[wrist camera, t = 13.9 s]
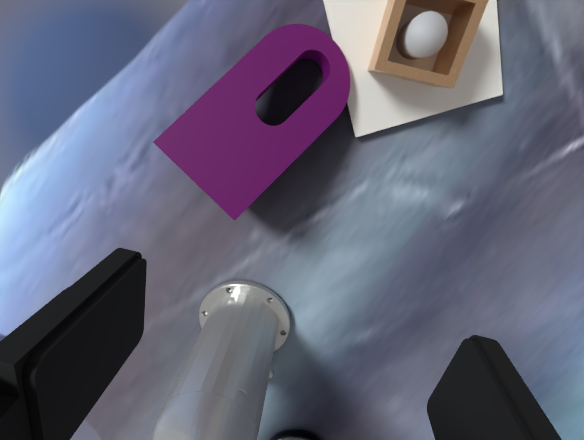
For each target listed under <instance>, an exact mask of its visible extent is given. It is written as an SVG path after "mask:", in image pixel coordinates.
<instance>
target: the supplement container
mask: <svg viewBox="0 0 584 440" xmlns="http://www.w3.org/2000/svg"><path fill="white" fill-rule="evenodd" d="M270 440H320V439H319V438H318V437H316V436H315V435H313V434H311V433H309V432H306V431H302V430H285V431H282V432H279V433H277V434H275V435H274V436H273V437H272V438H271V439H270Z"/></svg>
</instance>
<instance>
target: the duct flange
mask: <svg viewBox="0 0 584 440" xmlns="http://www.w3.org/2000/svg"><path fill="white" fill-rule="evenodd" d="M387 1H388V0H323V2H324V6H325V10H326V14H327V19H328V23H329V27H330V32H331V36H332V39H333V40H334V41H335V42H336V44H337V45H338V46H339V48H340V49H341V51H342V52H343V54H344V56H345V58H346V61H347V63H348V67H349V71H350V92H349V97H348V100H347V104H348V109H349V113H350V117H351V121H352V126H353V130H354V134H355V137H359V136H362V135H366V134H369V133H373V132H376V131H380V130H383V129H386V128H390V127H393V126H397V125H400V124H404V123H407V122H411V121H414V120H417V119H421V118H424V117H428V116H431V115H435V114H438V113H441V112H445V111H448V110H452V109H455V108H459V107H462V106H466V105H469V104H472V103H476V102H479V101H483V100H486V99H490V98H493V97H497V96H500V95H503V89H502V74H501V59H500V44H499V29H498V14H497V0H489V1H488V3H487V6H486V8H485V11H484V13H483V16H482V18H481V21H480V23H479V26H478V28H477V31H476V33H475V36H474V38H473V41H472V43H471V46H470V48H469V51H468V54H467V56H466V59H465V61H464V64H463V66H462V69H461V71H460V74H459V76H458V79H457V81H456V84H455V86H454V88H442V87H433V86H429V85H425V84H421V83H417V82H413V81H408V80H404V79H400V78H396V77H392V76H388V75H384V74H380V73H375V72H371V71H367V70H368V67H369V64H370V60H371V57H372V53H373V50H374V46H375V43H376V39H377V36H378V32H379V29H380V25H381V22H382V18H383V15H384V12H385V8H386V5H387ZM451 17H452V15H449V14H445V13H441V12H437V11H433V10H429V9H424V8H420V7H416V6H412V5H408V4H405V5H404V9H403V12H402V15H401V18H400V22H399V25H398V28H397V31H396V35H395V38H394V41H393V44H392V48H391V51H390V54H389V57H388V61H390V62H394V63H398V64H402V65H406V66H411V67H415V68H419V69H423V70H427V71H431V72H432V69H433V67H434V64H435V61H436V58H437V56H438V53H439V50H440V49H441V48H442V46H443V45H444V43H445V41H446V38H447V34H448V25H449V23H450V20H451Z"/></svg>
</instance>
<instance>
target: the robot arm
mask: <svg viewBox="0 0 584 440" xmlns="http://www.w3.org/2000/svg"><path fill="white" fill-rule="evenodd" d="M146 265H147V264H146V260H145V259H142V256H141V253H139V252H136V251H132V250H127V249H123V248H118V249H116V250H115V251H113V252H112V253H111V254H110V255H109V256H107V257H106V258H105V259H104V260H102V261H101V262H100V263H99V264H97V265H96V266H95V267H94V268H93V269H91V270H90V271H89V272H88V273H86V274H85V275H84V276H83V277H81V278H80V279H79V280H78V281H77V282H75V283H74V284H73V285H72V286H70V287H68V288H67V289H65V290H63V291H62V292H61V293H60V294H59V295H57V296H56V297H55V298H54V299H52V300H51V301H50V302H49V303H47V304H46V305H45V306H44V307H42V308H41V309H40V310H39V311H37V312H36V313H35V314H34V315H32V316H31V317H30V318H29V319H28V320H26V321H25V322H24V323H23V324H21V325H20V326H19V327H18V328H16V329H15V330H14V331H13V332H11V333H10V334H9V335H8V336H6V337H5V338H4V339H3V340H2V341H0V440H70V439H71V437H72V436H73V434H74V433H75V432H76V430H77V429H78V427H79V426H80V424H81V423H82V422H83V420H84V419H85V417H86V416H87V415H88V413H89V412H90V410H91V409H92V408H93V406H94V405H95V403H96V402H97V401H98V399H99V398H100V396H101V395H102V394H103V392H104V391H105V389H106V388H107V387H108V385H109V384H110V382H111V381H112V379H113V378H114V377H115V375H116V374H117V372H118V371H119V370H120V368H121V367H122V365H123V364H124V363H125V361H126V360H127V358H128V357H129V356H130V354H131V353H132V351H133V350H134V349H135V347H136V346H137V344H138V343H139V341H140V339H141V337H142V334H143V330H144V309H145V287H146ZM199 321H200V325H201V328H202V330H201V332H200V334H199V336H198V338H197V340H196V342H195V344H194V346H193V348H192V350H191V352H190V354H189V356H188V358H187V360H186V362H185V364H184V366H183V368H182V370H181V372H180V374H179V376H178V378H177V380H176V382H175V385H174V387H173V389H172V391H171V393H170V395H169V397H168V399H167V401H166V403H165V405H164V407H163V408H162V410H161V412H160V414H159V416H158V418H157V421H156V423H155V426H154V429H153V433H152V438H151V440H257V436H258V431H259V426H260V421H261V416H262V411H263V406H264V400H265V395H266V390H267V385H268V380H269V379H270V378H272V377H273V375H274V372H273V369H272V367H271V364H272V359H273V354H274V352H275V351H276V350H277V349H279V348H280V347H281V346H282V345H283V344H284V342H285V341H286V339H287V337H288V335H289V330H290V322H291V321H290V314H289V312H288V309H287V307H286V305H285V304H284V302H283V300H282V299H281V298H280V297H279V296H278V295H277V294H276V293H274V292H273V291H272V290H270V289H269V288H267V287H265V286H263V285H260V284H257V283H254V282H249V281H230V282H226V283H223V284H220V285H218V286H217V287H215V288H213V289H212V290H211V291H210V292H209V293H208V294H207V295H206V297H205V299H204V300H203V302H202V304H201V306H200V310H199ZM427 413H428V416H429V420H430V423H431V426H432V430H433V433H434V436H435V440H562V439H561V438H560V436H559V435H558V433H557V432H556V430H555V429H554V427H553V426H552V424H551V423H550V421H549V419H548V418H547V416H546V415H545V413H544V412H543V410H542V409H541V407H540V406H539V404H538V403H537V401H536V399H535V398H534V396H533V395H532V393H531V392H530V390H529V389H528V387H527V386H526V384H525V383H524V381H523V379H522V378H521V376H520V375H519V373H518V372H517V370H516V369H515V367H514V366H513V364H512V362H511V361H510V359H509V358H508V356H507V355H506V353H505V352H504V350H503V349H502V347H501V346H500V344H499V343H498V342H497V341H496V340H493V339H489V338H485V337H481V336H477V335H473V336H471V337H470V338H469V339H464V340H463V342H462V343H461V345H460V347H459V349H458V350H457V352H456V354H455V355H454V357H453V359H452V360H451V362H450V364H449V366H448V367H447V369H446V371H445V372H444V374H443V376H442V378H441V379H440V381H439V383H438V384H437V386H436V388H435V390H434V391H433V393H432V395H431V396H430V398H429V400H428V403H427Z"/></svg>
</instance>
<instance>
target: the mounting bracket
mask: <svg viewBox="0 0 584 440" xmlns="http://www.w3.org/2000/svg"><path fill="white" fill-rule="evenodd" d="M304 58H308V59H312V60H314V61H315V62H317V63H318V65H319V66H320V67H321V70H322V73H323V81H322V84H321V86H320V87H319V88H318V89H317V90H316V91H315V92H314V93H313V94H312V95H311V96H310V97H309V98H308V99H307V100H306V101H305V102H304V103H303V104H302V105H301V106H300V107H299V108H298V109H297V110H296V111H295V112H294V113H293V114H292V115H291V116H290V117H289V118H288V119H287V120H286V121H285V122H283V123H282V124H280V125H277V126H270V125H267V124H265V123H263V122H262V121H261V120H260V119H259V118H258V116H257V114H256V111H255V102H256V101H257V100H258V99H259V98H260V97H261V96H262V95H263V94H264V93H265V92H266V91H267V90H268V89H269V88H270V87H271V86H272V85H273V84H274V83H275V82H276V81H277V80H278V79H279V78H280V77H281V76H282V75H283V74H285V73H286V72H287V71H288V70H289V69H290V68H291V67H292V66H293V65H294V64H295V63H296V62H297V61H299V60H300V59H304ZM349 92H350V71H349V67H348V63H347V61H346V58H345V56H344V54H343V52H342V51H341V49H340V48H339V46H338V45H337V44H336V42H335V41H334V40H333V39H332V38H331V37H329V36H328V35H327V34H325V33H324V32H322V31H321V30H319V29H317V28H314V27H312V26H308V25H302V24H291V25H285V26H282V27H279V28H277V29H275V30H273V31H272V32H270V33H269V34H268V35H266V36H265V37H264V38H263V39H262V40H261V41H260V42H259V43H258V44H257V45H256V46H255V47H254V48H253V49H251V50H250V51H249V52H248V53H247V54H246V55H245V56H244V57H243V58H242V59H241V60H240V61H239V62H238V63H237V64H236V65H234V66H233V67H232V68H231V69H230V70H229V71H228V72H227V73H226V74H225V75H224V76H223V77H222V78H221V79H220V80H219V81H217V82H216V83H215V84H214V85H213V86H212V87H211V88H210V89H209V90H208V91H207V92H206V93H205V94H204V95H203V96H202V97H200V98H199V99H198V100H197V101H196V102H195V103H194V104H193V105H192V106H191V107H190V108H189V109H188V110H187V111H186V112H185V113H183V114H182V115H181V116H180V117H179V118H178V119H177V120H176V121H175V122H174V123H173V124H172V125H171V126H170V127H169V128H168V129H166V130H165V131H164V132H163V133H162V134H161V135H160V136H159V137H158V138H157V139H156V140H155V141H154V142H153V143H154V144H156V145H157V146H158V147H159V148H160V149H161V150H162V151H163V152H164V153H165V154H166V155H167V156H168V157H169V158H170V159H171V160H172V161H173V162H174V163H175V164H176V165H177V166H178V167H179V168H180V169H182V170H183V171H184V172H185V173H186V174H187V175H188V176H189V177H190V178H191V179H192V180H193V181H194V182H195V183H196V184H197V185H198V186H199V187H200V188H201V189H202V190H203V191H204V192H205V193H206V194H207V195H209V196H210V197H211V198H212V199H213V200H214V201H215V202H216V203H217V204H218V205H219V206H220V207H221V208H222V209H223V210H224V211H225V212H226V213H227V214H228V215H229V216H230V217H231V218H232V219H233V220H236V219H237V218H238V217H239V216H240V215H241V214H242V213H243V212H244V211H245V210H246V209H247V208H248V207H249V206H250V205H251V204H252V203H253V202H254V201H255V200H256V199H257V198H258V197H259V196H260V195H261V194H262V193H263V192H264V191H265V190H266V189H267V188H268V187H269V186H270V185H271V184H272V183H273V182H274V181H275V180H276V179H277V178H278V177H279V176H280V175H281V174H282V173H283V172H284V171H285V170H286V169H287V167H288V166H289V165H290V164H291V163H292V162H293V161H294V160H295V159H296V158H297V157H298V156H299V155H300V154H301V153H302V152H303V151H304V150H305V149H306V148H307V147H308V146H309V145H310V144H311V143H312V142H313V141H314V140H315V139H316V138H317V137H318V136H319V135H320V134H321V133H322V132H323V131H324V130H325V129H326V128H327V127H328V126H329V125H330V124H331V123H332V122H333V121H334V120H335V119H336V118H337V117H338V116H339V115H340V114H341V112H342V111H343V109H344V107H345V105H346V103H347V100H348V97H349Z"/></svg>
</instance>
